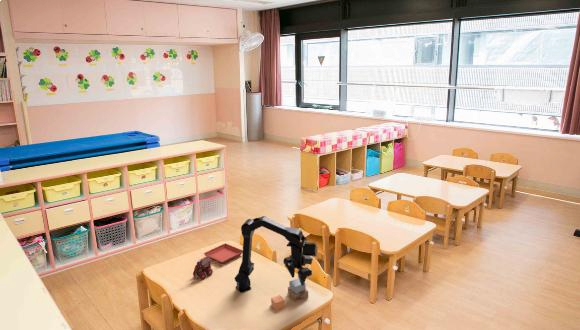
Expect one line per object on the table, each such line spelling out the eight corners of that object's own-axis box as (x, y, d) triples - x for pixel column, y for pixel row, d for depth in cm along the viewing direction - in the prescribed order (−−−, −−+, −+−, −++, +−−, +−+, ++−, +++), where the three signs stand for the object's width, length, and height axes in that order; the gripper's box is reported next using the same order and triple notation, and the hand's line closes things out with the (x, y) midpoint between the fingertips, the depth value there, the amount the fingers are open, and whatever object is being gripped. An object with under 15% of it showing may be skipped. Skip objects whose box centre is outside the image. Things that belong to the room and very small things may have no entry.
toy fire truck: (190, 278, 232) (188, 262, 230) (207, 269, 242) (205, 253, 239) (198, 282, 228) (196, 265, 225) (215, 272, 238) (213, 256, 235)
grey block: (295, 293, 208) (295, 286, 207) (289, 288, 213) (289, 281, 212) (305, 289, 211) (305, 282, 210) (299, 284, 216) (298, 277, 215)
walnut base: (294, 301, 208) (293, 294, 207) (288, 293, 215) (287, 287, 214) (308, 297, 211) (308, 290, 210) (301, 289, 218) (301, 283, 217)
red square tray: (225, 247, 269) (225, 242, 268) (244, 255, 258) (244, 250, 257) (203, 258, 256) (203, 253, 255) (222, 267, 245) (221, 262, 244)
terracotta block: (276, 310, 202) (275, 302, 201) (271, 304, 206) (271, 297, 205) (285, 306, 204) (284, 299, 203) (280, 301, 208) (279, 294, 207)
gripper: (320, 256, 203) (321, 284, 207) (300, 242, 218) (301, 269, 222) (301, 263, 197) (302, 291, 202) (282, 248, 213) (283, 275, 217)
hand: (297, 281), depth 211 cm, fingers open, 9 cm apart
